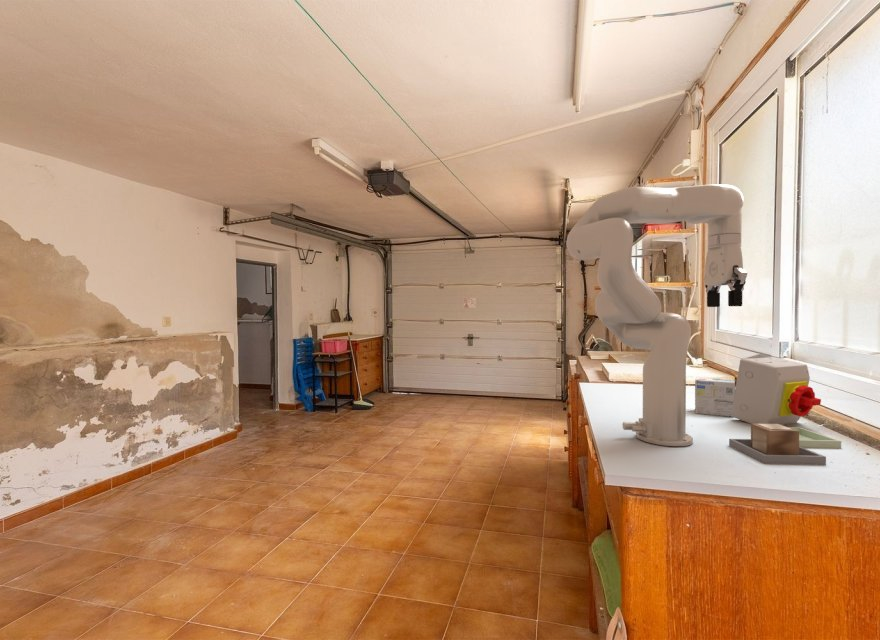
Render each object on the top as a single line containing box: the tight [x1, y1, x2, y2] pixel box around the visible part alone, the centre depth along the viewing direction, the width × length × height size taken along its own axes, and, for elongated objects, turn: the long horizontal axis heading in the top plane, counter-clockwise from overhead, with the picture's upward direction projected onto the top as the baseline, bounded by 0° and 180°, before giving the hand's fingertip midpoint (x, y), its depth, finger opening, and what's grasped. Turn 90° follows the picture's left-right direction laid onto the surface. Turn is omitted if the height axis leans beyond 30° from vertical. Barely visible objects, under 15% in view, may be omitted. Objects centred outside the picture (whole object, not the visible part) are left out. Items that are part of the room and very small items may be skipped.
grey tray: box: [728, 438, 827, 466], centre depth 94 cm, size 12×12×2 cm
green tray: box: [789, 426, 842, 449], centre depth 105 cm, size 12×12×2 cm
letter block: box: [750, 424, 799, 455], centre depth 94 cm, size 6×6×6 cm
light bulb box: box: [694, 376, 736, 418], centre depth 135 cm, size 11×7×11 cm, turn 58°
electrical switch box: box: [731, 353, 822, 426], centre depth 119 cm, size 15×15×20 cm
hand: (723, 306), depth 115 cm, fingers open, 9 cm apart
